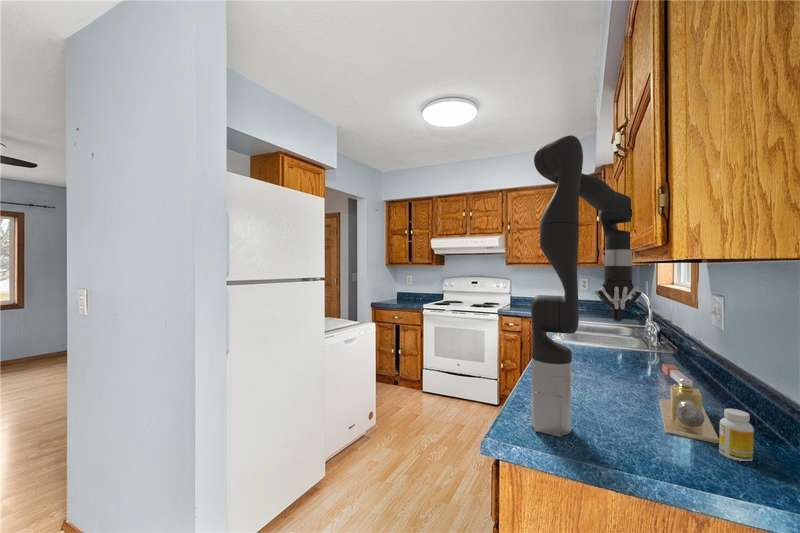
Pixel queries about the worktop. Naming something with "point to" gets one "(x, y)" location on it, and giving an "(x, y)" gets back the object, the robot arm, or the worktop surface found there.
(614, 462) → the worktop surface
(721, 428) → the supplement bottle
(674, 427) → the valve rig
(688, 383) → the valve lever
